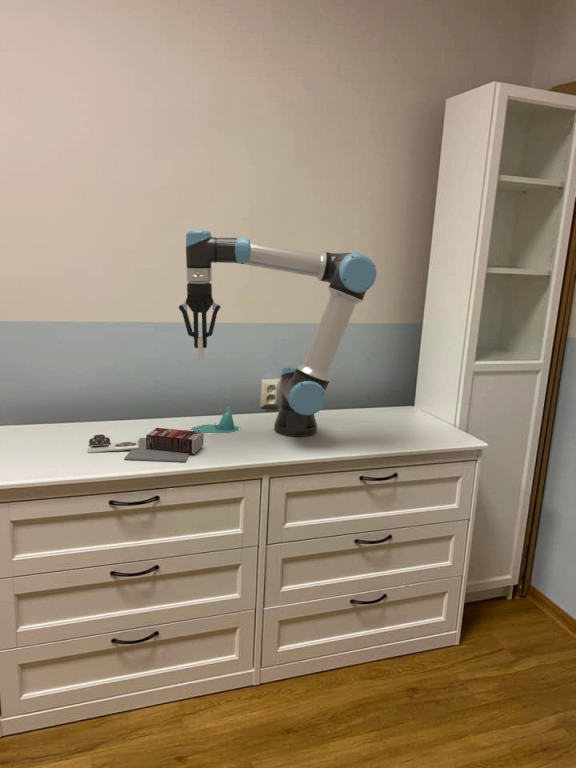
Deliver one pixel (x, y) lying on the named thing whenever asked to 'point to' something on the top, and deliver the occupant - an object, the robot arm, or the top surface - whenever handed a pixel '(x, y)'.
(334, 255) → the robot arm
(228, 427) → the diorama
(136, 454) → the mat
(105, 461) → the top surface
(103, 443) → the car cutout
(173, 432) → the supplement box
